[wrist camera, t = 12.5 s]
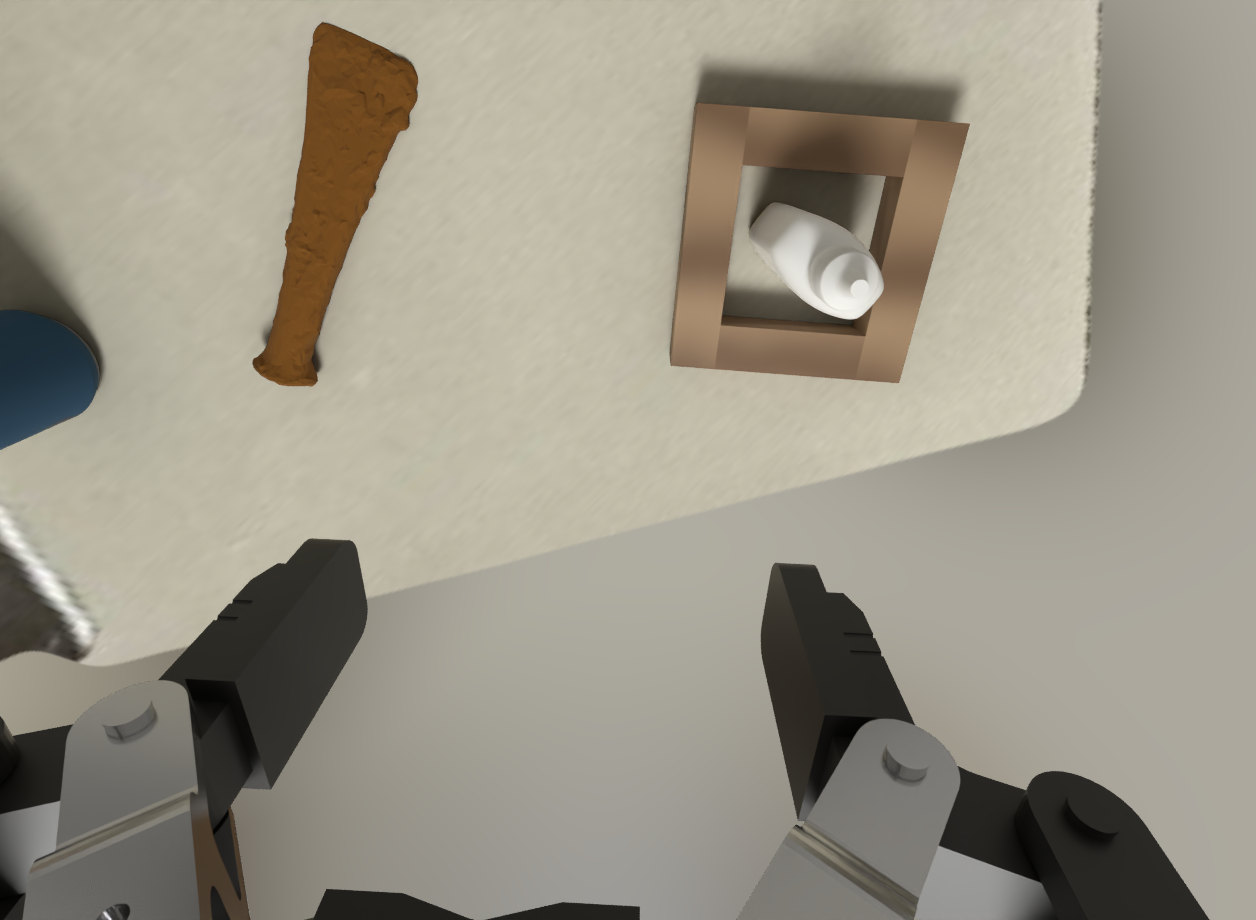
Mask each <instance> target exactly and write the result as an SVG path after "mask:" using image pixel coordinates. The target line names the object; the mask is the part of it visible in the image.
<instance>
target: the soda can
mask: <svg viewBox="0 0 1256 920" xmlns="http://www.w3.org/2000/svg"><path fill="white" fill-rule="evenodd" d="M99 380H100V372H99V366H98V363H97V360H96V358H95V356H94V354H93V352H92V351H91V349H90V348H89V346H88V345H87V344H86V342H85V341H84V340H83V339H82V338H81V337H80V336H79V335H78V334H77V333H75V332H74V331H73V330H71V329H70V328H69V327H67V326H65V325H64V324H62V323H60V322H57V321H55V320H52V319H49V318H46V317H43V316H40V315H37V314H34V313H30V312H26V311H20V310H1V311H0V450H1V449H3V448H6V447H8V446H10V445H12V444H15V443H17V442H19V441H21V440H24V439H26V438H28V437H30V436H33V435H35V434H37V433H39V432H42V431H44V430H46V429H48V428H51V427H53V426H55V425H57V424H60V423H62V422H64V421H66V420H69V419H71V418H73V417H75V416H77V415H79V414H81V413H82V412H83V411H85V410H86V409H87V408H88V406H89V405H90V404H91V402H92V400H93V398H94V396H95V393H96V390H97V387H98V384H99Z"/></svg>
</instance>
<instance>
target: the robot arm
mask: <svg viewBox="0 0 1256 920" xmlns="http://www.w3.org/2000/svg"><path fill="white" fill-rule="evenodd" d="M367 610H368V609H367V600H366V595H365V589H364V584H363V579H362V573H361V568H360V563H359V558H358V552H357V548H356V546H355V544H354V543H353V542H352V541H350V540H331V539H308V540H307V541H306V542H304V543H303V545H302V546H301V547H300V548H299V549H298V550H297V551H296V553H295V554H294V555H293V556H292V557H291V558H290V559H289V561H288V562H287V563H286V564H281V563H278V564H276V565H274V566H273V567H271V568H270V569H268V570H266V571H265V572H263V573H261V574H260V575H258V576H257V577H255V578H253V579H252V580H251V581H250V582H249V583H248V584H247V585H246V586H245V587H244V588H243V589H242V590H241V591H240V592H239V593H238V595H237V596H236V597H235V598H234V599H233V603H232V604H228V605H227V606H226V607H225V609H224V610H223V611H222V612H221V613H220V614H219V615H218V619H217V620H213V621H212V623H211V624H210V625H209V626H208V627H207V628H206V629H205V630H204V631H203V632H202V633H201V634H200V635H199V637H198V638H197V639H196V640H195V641H194V642H193V643H192V644H191V645H190V646H189V647H188V648H187V650H186V651H185V652H184V653H183V654H182V655H181V656H180V657H179V658H178V659H177V660H176V661H175V662H174V663H173V665H172V666H171V667H170V668H169V669H168V670H167V671H166V672H165V673H164V674H163V676H161V678H160V679H159V680H157V681H148V682H143V683H139V684H135V685H132V686H129V687H126V688H124V689H121V690H119V691H117V692H115V693H113V694H110V695H108V696H107V697H105V698H103V699H102V700H100V701H99V702H97V703H96V704H94V705H93V706H91V707H90V708H89V709H88V710H87V711H85V712H84V713H83V714H82V715H81V716H80V717H79V718H78V719H77V721H76V722H75V723H74V724H73V725H67V726H62V727H57V728H52V729H47V730H42V731H37V732H31V733H26V734H20V735H16V736H12V734H11V732H10V731H9V729H8V727H7V726H6V724H5V722H4V721H3V719H2V718H1V717H0V920H251V919H250V914H249V908H248V902H247V895H246V889H245V882H244V876H243V869H242V863H241V856H240V850H239V844H238V837H237V831H236V824H235V818H234V814H233V811H232V808H231V804H232V803H233V801H234V799H235V798H236V796H237V795H238V793H239V791H240V790H241V788H252V789H272V787H273V785H274V783H275V782H276V780H277V778H278V777H279V775H280V773H281V772H282V770H283V768H284V767H285V765H286V763H287V761H288V760H289V758H290V756H291V755H292V753H293V751H294V749H295V748H296V746H297V745H298V743H299V741H300V740H301V738H302V736H303V734H304V733H305V731H306V729H307V728H308V726H309V724H310V723H311V721H312V719H313V718H314V716H315V714H316V712H317V711H318V709H319V708H320V706H321V704H322V703H323V701H324V699H325V697H326V696H327V694H328V692H329V691H330V689H331V687H332V686H333V684H334V682H335V680H336V679H337V677H338V675H339V674H340V672H341V670H342V669H343V667H344V665H345V664H346V662H347V660H348V659H349V657H350V655H351V654H352V652H353V650H354V649H355V647H356V645H357V643H358V642H359V640H360V638H361V636H362V634H363V632H364V628H365V625H366V620H367ZM761 653H762V660H763V665H764V669H765V674H766V678H767V683H768V687H769V692H770V696H771V701H772V705H773V710H774V714H775V719H776V723H777V728H778V733H779V737H780V742H781V746H782V751H783V755H784V760H785V764H786V769H787V773H788V778H789V782H790V787H791V791H792V796H793V800H794V805H795V810H796V814H797V819H798V821H805V822H804V824H803V825H802V826H801V827H799V826H798V825H795V826H794V827H793V828H792V829H791V830H790V832H789V833H788V834H787V836H786V837H785V839H784V841H783V842H782V844H781V846H780V847H779V849H778V851H777V852H776V854H775V855H774V857H773V859H772V861H771V862H770V864H769V866H768V867H767V869H766V871H765V872H764V874H763V876H762V877H761V879H760V881H759V882H758V884H757V886H756V887H755V889H754V891H753V892H752V894H751V896H750V897H749V899H748V901H747V902H746V904H745V906H744V907H743V909H742V911H741V912H740V914H739V916H738V918H737V919H736V920H914V918H917V919H919V920H1209V919H1208V917H1207V916H1206V914H1205V912H1204V911H1203V910H1202V908H1201V907H1200V905H1199V904H1198V902H1197V901H1196V899H1195V898H1194V896H1193V895H1192V893H1191V892H1190V890H1189V889H1188V887H1187V886H1186V884H1185V883H1184V881H1183V880H1182V879H1181V877H1180V875H1179V874H1178V872H1177V871H1176V869H1175V868H1174V867H1173V865H1172V864H1171V862H1170V861H1169V859H1168V858H1167V856H1166V855H1165V853H1164V852H1163V850H1162V849H1161V847H1160V846H1159V844H1158V843H1157V841H1156V840H1155V838H1154V837H1153V835H1152V834H1151V832H1150V831H1149V829H1148V828H1147V827H1146V825H1145V824H1144V822H1143V821H1142V820H1141V819H1140V817H1139V816H1138V815H1137V814H1136V813H1135V812H1134V811H1133V810H1132V808H1131V807H1129V806H1128V805H1127V804H1126V803H1125V802H1124V801H1123V800H1121V799H1120V798H1119V797H1117V796H1116V795H1115V794H1113V793H1112V792H1111V791H1109V790H1107V789H1106V788H1104V787H1103V786H1101V785H1099V784H1097V783H1095V782H1093V781H1091V780H1089V779H1086V778H1084V777H1081V776H1078V775H1075V774H1072V773H1067V772H1060V771H1050V772H1044V773H1041V774H1039V775H1037V776H1036V777H1034V778H1033V779H1032V781H1031V782H1030V784H1029V786H1028V788H1027V790H1023V789H1020V788H1017V787H1014V786H1010V785H1008V784H1004V783H1002V782H998V781H995V780H992V779H989V778H986V777H983V776H980V775H977V774H974V773H972V772H969V771H967V770H965V769H963V768H961V767H959V766H957V764H956V762H955V760H954V758H953V757H952V755H951V754H950V752H949V751H948V750H947V749H946V748H945V746H944V745H943V744H942V743H941V742H940V741H938V740H937V739H936V738H935V737H934V736H932V735H931V734H930V733H928V732H926V731H925V730H923V729H921V728H919V727H917V726H915V724H914V722H913V720H912V717H911V715H910V713H909V711H908V709H907V707H906V704H905V702H904V700H903V698H902V696H901V694H900V691H899V689H898V687H897V685H896V683H895V681H894V678H893V676H892V674H891V672H890V670H889V668H888V665H887V663H886V661H885V659H884V657H882V656H881V651H880V648H879V646H878V644H877V642H876V639H875V638H873V633H872V631H871V629H870V627H869V624H868V622H867V620H866V618H865V616H864V613H863V612H862V611H861V610H860V609H859V608H858V607H857V606H856V605H855V604H854V603H853V602H852V601H851V600H850V599H849V598H848V597H847V596H845V594H844V593H828V592H826V589H825V587H824V584H823V582H822V579H821V577H820V575H819V572H818V570H817V568H816V566H815V565H804V564H786V563H775V564H774V565H773V567H772V570H771V575H770V581H769V586H768V593H767V598H766V603H765V609H764V615H763V621H762V627H761ZM639 917H640V907H635V906H617V905H599V904H583V903H564V902H562V903H558V904H554V905H548V906H544V907H540V908H535V909H531V910H527V911H522V912H518V913H513V914H509V915H505V916H501V917H496V918H491V919H487V920H640V918H639ZM306 920H473V919H469V918H466V917H464V916H461V915H458V914H456V913H453V912H451V911H448V910H445V909H443V908H440V907H438V906H435V905H432V904H430V903H427V902H424V901H422V900H419V899H416V898H414V897H411V896H409V895H406V894H403V893H388V892H371V891H353V890H333V889H326V891H325V893H324V896H323V898H322V900H321V903H320V905H319V907H318V910H317V912H316V914H315V916H314V918H310V919H306Z"/></svg>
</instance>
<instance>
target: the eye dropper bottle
mask: <svg viewBox="0 0 1256 920" xmlns="http://www.w3.org/2000/svg"><path fill="white" fill-rule="evenodd" d="M749 238H750V241H751V243H752V245H753V247H754V249H755V251H756V252H757V254H758V256H759V257H760V258H761V260H762V261H763V262H764V264H765V265H766V266H767V267H768V268H769V269H770V270H771V271H772V272H773V273H774V274H775V275H776V276H777V277H778V278H779V279H780V280H782V281H783V282H784V283H785V284H786V285H787V286H788V287H789V288H790V289H791V290H792V291H793V292H794V293H795V294H796V295H798V296H799V297H800V298H801V299H802V300H804V301H805V302H806V303H808V304H809V305H811V306H812V307H814V308H816V309H818V310H820V311H822V312H824V313H826V314H829V315H832V316H835V317H838V318H843V319H850V320H851V319H857V318H859V317H860V316H862V315H863V314H864V313H865V312H866V311H867V310H868V309H869V308H870V307H871V306H872V305H873V304H874V303H875V302H876V300H877V299H878V298H879V297H880V295H881V294H882V292H883V290H884V281H883V278H882V274H881V272H880V269H879V267H878V265H877V263H876V261H875V259H874V258H873V256H872V255H871V253H870V252H869V250H868V249H867V248H866V247H865V246H864V244H863V243H862V242H861V241H860V240H859V239H858V238H856V237H855V236H854V235H853V234H852V233H850V232H849V231H848V230H846V229H845V228H843V227H841V226H840V225H838V224H836V223H834V222H832V221H830V220H828V219H825V218H823V217H820V216H818V215H815V214H812V213H810V212H807V211H804V210H801V209H799V208H796V207H793V206H790V205H787V204H783V203H778V202H776V203H771V204H770V205H768V206H767V207H766V208H765V209H764V211H763V212H762V213H761V214H760V216H759V217H758V218H757V219H756V221H755V222H754V223H753V225H752V226H751V228H750V230H749Z"/></svg>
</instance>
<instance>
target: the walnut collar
mask: <svg viewBox="0 0 1256 920" xmlns="http://www.w3.org/2000/svg"><path fill="white" fill-rule="evenodd" d="M969 125H970V124H967V123H954V122H941V121H928V120H915V119H902V118H889V117H876V116H863V115H850V114H837V113H823V112H810V111H797V110H784V109H771V108H758V107H745V106H732V105H719V104H706V103H697V104H696V105H695V107H694V116H693V126H692V136H691V146H690V156H689V166H688V175H687V185H686V195H685V205H684V215H683V225H682V235H681V245H680V255H679V265H678V275H677V285H676V294H675V304H674V314H673V324H672V334H671V344H670V363H671V366H681V367H695V368H708V369H721V370H734V371H747V372H760V373H773V374H786V375H799V376H812V377H825V378H838V379H851V380H864V381H877V382H890V383H899V381H900V378H901V374H902V370H903V367H904V363H905V359H906V356H907V352H908V348H909V345H910V341H911V337H912V334H913V330H914V326H915V323H916V319H917V315H918V312H919V308H920V304H921V301H922V297H923V293H924V290H925V286H926V283H927V279H928V275H929V272H930V268H931V264H932V261H933V257H934V253H935V250H936V246H937V242H938V239H939V235H940V231H941V228H942V224H943V220H944V217H945V213H946V209H947V206H948V202H949V198H950V195H951V191H952V187H953V184H954V180H955V176H956V173H957V169H958V166H959V162H960V158H961V155H962V151H963V147H964V144H965V140H966V136H967V133H968V129H969ZM742 165H751V166H764V167H777V168H790V169H803V170H816V171H829V172H842V173H855V174H868V175H881V176H886V180H885V185H884V189H883V193H882V198H881V202H880V207H879V211H878V215H877V220H876V224H875V228H874V233H873V237H872V242H871V246H870V250H869V252H870V253H871V255H872V256H873V258H874V259H875V261H876V263H877V265H878V267H879V269H880V272H881V274H882V278H883V281H884V290H883V292H882V294H881V295H880V297H879V298H878V299H877V300H876V302H875V303H874V304H873V305H872V306H871V307H870V308H869V309H868V310H867V311H866V312H865V313H864V314H863V315H862V316H860V317H859V318H857V319H854V320H853V324H852V325H839V324H826V323H813V322H800V321H787V320H774V319H761V318H748V317H735V316H722V311H723V303H724V296H725V289H726V281H727V274H728V266H729V259H730V252H731V244H732V237H733V229H734V222H735V215H736V207H737V200H738V192H739V185H740V178H741V170H742Z"/></svg>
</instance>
